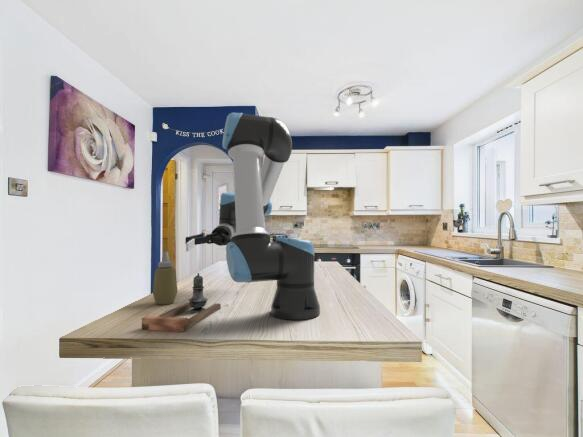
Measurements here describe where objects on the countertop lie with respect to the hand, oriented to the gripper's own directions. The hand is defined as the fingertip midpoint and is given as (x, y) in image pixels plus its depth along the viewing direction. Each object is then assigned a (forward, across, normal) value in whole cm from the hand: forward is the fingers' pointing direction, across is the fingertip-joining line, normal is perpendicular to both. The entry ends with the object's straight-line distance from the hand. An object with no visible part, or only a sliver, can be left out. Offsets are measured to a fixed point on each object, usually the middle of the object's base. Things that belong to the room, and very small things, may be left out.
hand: (207, 249), depth 100 cm
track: (+15, +2, -17) cm, 22 cm away
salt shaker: (+8, 0, -18) cm, 20 cm away
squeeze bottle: (-2, +15, -22) cm, 26 cm away
